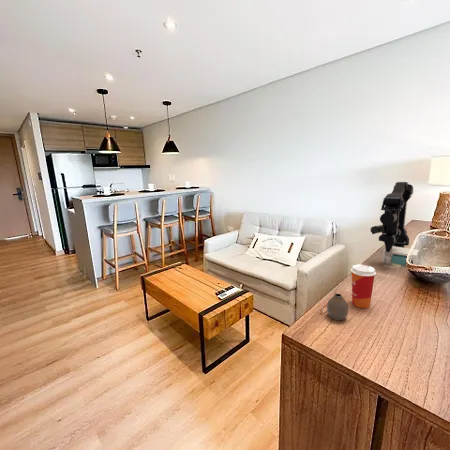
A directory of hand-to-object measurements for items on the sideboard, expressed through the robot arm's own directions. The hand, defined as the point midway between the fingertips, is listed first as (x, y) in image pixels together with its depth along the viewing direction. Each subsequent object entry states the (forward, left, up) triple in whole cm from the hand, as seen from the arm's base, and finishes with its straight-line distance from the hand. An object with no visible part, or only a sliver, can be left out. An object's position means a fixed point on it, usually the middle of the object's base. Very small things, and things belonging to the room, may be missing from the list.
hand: (388, 251), depth 123 cm
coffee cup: (+45, -1, -9) cm, 46 cm away
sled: (-5, +3, -9) cm, 10 cm away
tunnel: (-8, +4, -9) cm, 13 cm away
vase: (+59, -5, -9) cm, 60 cm away
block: (-8, +4, -8) cm, 12 cm away
